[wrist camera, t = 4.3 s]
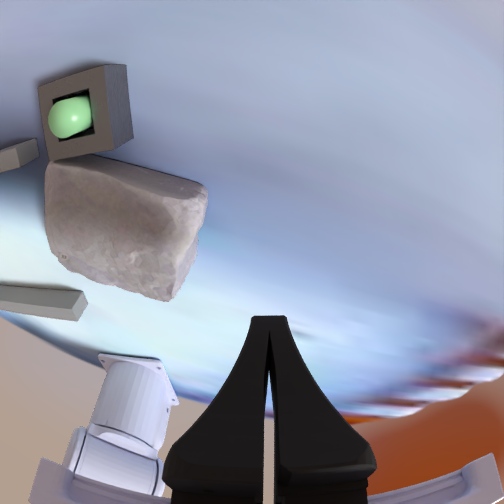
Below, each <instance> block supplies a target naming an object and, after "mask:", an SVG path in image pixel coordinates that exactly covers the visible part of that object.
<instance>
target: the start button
mask: <svg viewBox="0 0 504 504" xmlns="http://www.w3.org/2000/svg"><path fill="white" fill-rule="evenodd" d="M48 124H49V127H50V130H51V131H52V133H53V134H54V135H55V136H57V137H59V138H67V137H69V136H71V135H73V134H76V133H78V132H80V131H82V130H85V129H87V128H90V127H92V126H94V123H93V116H92V109H91V100H90V94H87V95H82V96H78V97H74V98H70V99H66V100H62V101H59V102H57V103H55V104H54V105H53V107H52V108H51V110H50V112H49V116H48Z"/></svg>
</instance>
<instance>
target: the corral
mask: <svg viewBox="0 0 504 504" xmlns="http://www.w3.org/2000/svg"><path fill="white" fill-rule="evenodd" d="M39 156H40V155H39V150H38V145H37V140H36V138H35V139H31V140H28V141H25V142H22V143H19V144H16V145H13V146H10V147H7V148H4V149H2V150H0V173H1V172H5V171H8V170H12V169H16V168H19V167H21V166H23V165H25V164H27V163H28V162H30V161H32V160H34V159H36V158H37V157H39ZM87 304H88V302H87V300H86V298H85V295H84V293H83V291H69V290H54V289H40V288H28V287H16V286H5V285H0V310H4V311H9V312H15V313H21V314H27V315H34V316H40V317H47V318H54V319H62V320H70V321H78V320H79V318H80V317H81V315H82V313H83V311H84V310H85V308H86V306H87Z"/></svg>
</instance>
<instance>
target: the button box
mask: <svg viewBox="0 0 504 504" xmlns="http://www.w3.org/2000/svg"><path fill="white" fill-rule="evenodd" d="M87 90H89V92H90V100H91V109H92V116H93V123H94V129H91V130H86V131H83V130H82V131H80V132H78V133H76V134H73V135H71V136H69V137H67V138H59V137H57V136H55V135H54V134H53V133H52V131H51V130H50V127H49V124H48V116H49V112H50V110H51V108H52V107H53V105H54V104H55V103H57V102H59V101H62V100H66V99H70V98H74V97H78V93H80V92H84V91H87ZM38 94H39V103H40V110H41V117H42V124H43V130H44V136H45V141H46V146H47V151H48V156H49V161H55V160H59V159H64V158H69V157H74V156H79V155H85V154H90V153H96V152H102V151H108V150H114V149H116V148H118V147H119V146H121V145H123V144H124V143H126V142H128V141H129V140H131V139H133V138H134V136H133V128H132V120H131V112H130V103H129V93H128V82H127V70H126V65H103V66H99V67H96V68H92V69H89V70H86V71H82V72H79V73H76V74H73V75H70V76H67V77H64V78H61V79H58V80H56V81H53V82H50V83H48V84H45V85H43V86H40V87H38Z"/></svg>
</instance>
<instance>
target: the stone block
mask: <svg viewBox="0 0 504 504" xmlns="http://www.w3.org/2000/svg"><path fill="white" fill-rule="evenodd" d="M44 192H45V229H46V235H47V239H48V243H49V246H50V249H51V252H52V253H53V254H54V255H55V256H56V257H58V261H59V262H60V263H61V264H62V265H63V266H64V267H65V268H66V269H67V270H69V271H71V272H75V273H79V274H82V275H84V276H85V277H86V278H88V279H90V280H92V281H95V282H97V283H101V284H104V285H111V286H114V285H116V286H117V287H119V288H122V289H124V290H127V291H130V292H134V293H140V294H142V295H144V296H145V297H149V298H152V299H155V300H160V301H163V302H165V301H166V302H169V301H170V300H171V299H173V298H174V297H175V295H176V293H177V292H178V291H179V289H180V288H181V286H182V284H183V283H184V281H185V278H186V276H187V275H188V273H189V270H190V267H191V266H192V265H193V264H194V261H195V258H196V256H197V243H198V241H199V239H198V234H197V232H198V231H199V229H200V228H201V226H202V225H203V221H204V217H205V212H206V208H207V205H208V192H207V189H206V188H205V187H204V186H202V185H201V184H199V183H196V182H193V181H190V180H187V179H183V178H179V177H176V176H172V175H168V174H165V173H161V172H157V171H154V170H150V169H146V168H143V167H139V166H134V165H130V164H127V163H123V162H120V161H116V160H111V159H106V158H103V157H99V156H95V155H91V154H85V155H79V156H74V157H69V158H64V159H59V160H55V161H50V162H49V164H48V166H47V169H46V172H45V189H44Z"/></svg>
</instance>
